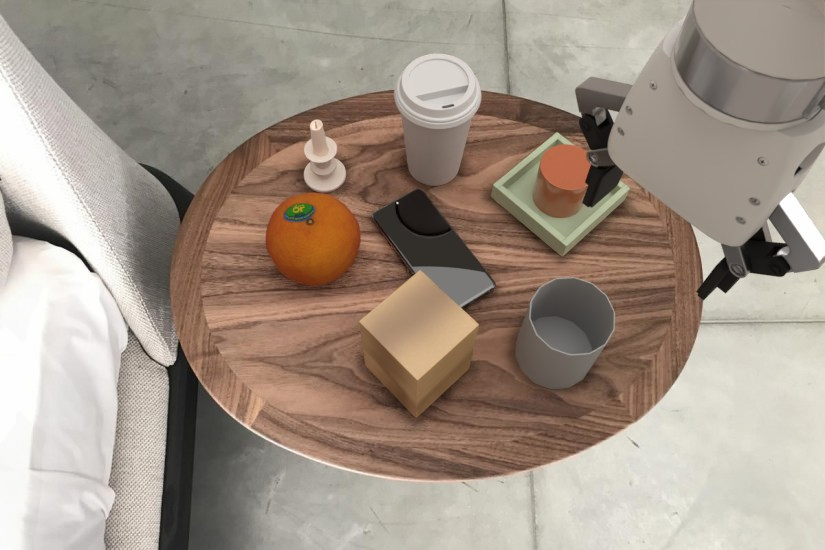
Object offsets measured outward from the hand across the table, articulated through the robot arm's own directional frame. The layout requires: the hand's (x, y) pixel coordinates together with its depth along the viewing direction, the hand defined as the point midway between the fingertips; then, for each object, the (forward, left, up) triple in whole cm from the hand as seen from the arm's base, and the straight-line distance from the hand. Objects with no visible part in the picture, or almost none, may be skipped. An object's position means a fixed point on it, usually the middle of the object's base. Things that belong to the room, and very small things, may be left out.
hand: (654, 237), depth 49 cm
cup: (+3, -2, -32) cm, 32 cm away
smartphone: (+21, -1, -32) cm, 38 cm away
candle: (+38, +1, -32) cm, 50 cm away
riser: (+12, +10, -32) cm, 35 cm away
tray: (+16, -18, -32) cm, 40 cm away
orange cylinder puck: (+16, -18, -31) cm, 39 cm away
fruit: (+30, +9, -32) cm, 45 cm away
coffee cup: (+30, -10, -32) cm, 45 cm away
